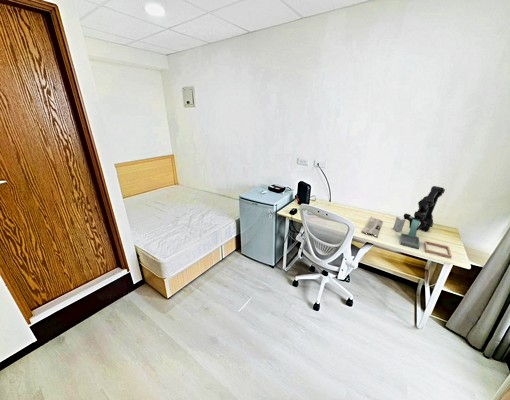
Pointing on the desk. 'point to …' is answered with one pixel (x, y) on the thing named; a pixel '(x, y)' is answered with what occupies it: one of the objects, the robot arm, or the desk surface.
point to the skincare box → (399, 224)
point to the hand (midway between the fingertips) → (413, 229)
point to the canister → (413, 227)
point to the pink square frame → (438, 252)
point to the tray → (409, 241)
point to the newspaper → (373, 226)
